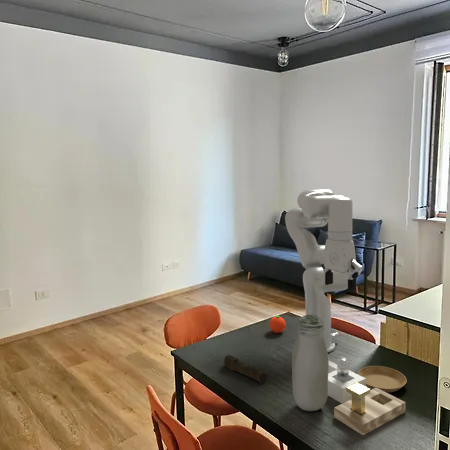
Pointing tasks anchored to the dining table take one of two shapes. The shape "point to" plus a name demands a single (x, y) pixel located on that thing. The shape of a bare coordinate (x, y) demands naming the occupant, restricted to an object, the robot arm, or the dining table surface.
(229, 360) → the hand tool
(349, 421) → the socket block
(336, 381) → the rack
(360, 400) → the gold square peg
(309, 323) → the glass bottle
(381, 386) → the plant saucer
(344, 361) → the clear glass vial
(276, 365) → the dining table surface
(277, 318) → the clementine
